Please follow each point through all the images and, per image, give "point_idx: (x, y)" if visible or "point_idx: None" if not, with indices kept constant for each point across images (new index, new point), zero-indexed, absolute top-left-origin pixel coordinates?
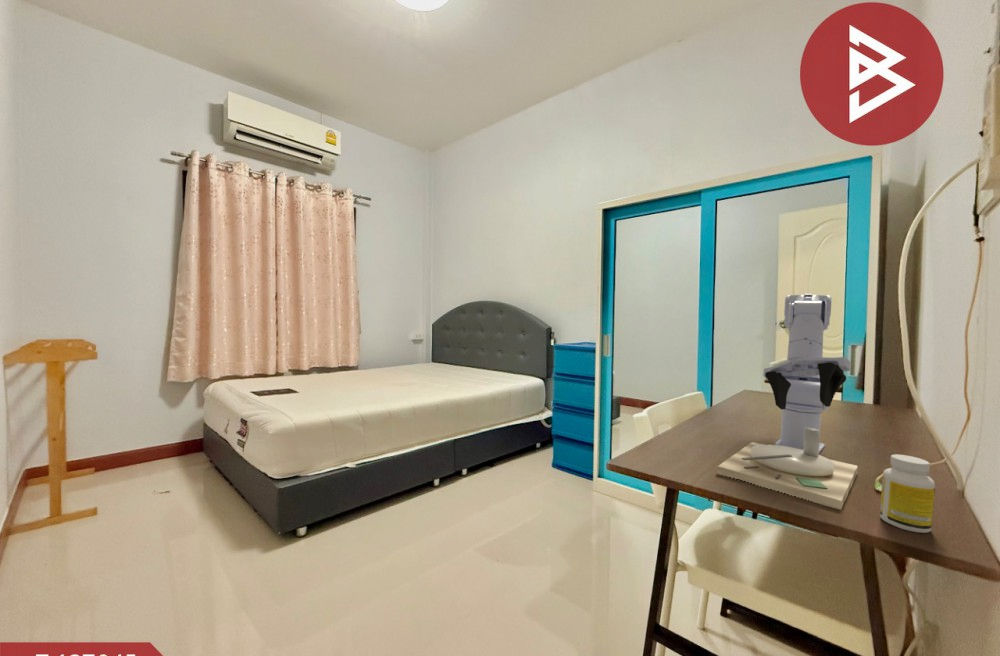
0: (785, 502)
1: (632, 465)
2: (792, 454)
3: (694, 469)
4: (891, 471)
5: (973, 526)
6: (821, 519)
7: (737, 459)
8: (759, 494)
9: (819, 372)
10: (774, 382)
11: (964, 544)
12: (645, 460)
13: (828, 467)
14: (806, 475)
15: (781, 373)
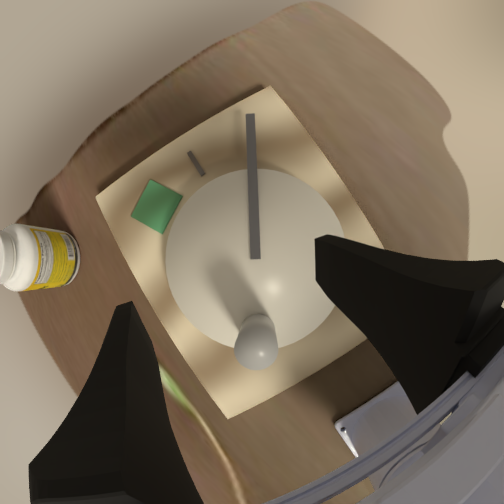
0: (144, 130)
1: (319, 5)
2: (265, 277)
3: (297, 71)
4: (15, 233)
5: (52, 353)
6: (95, 143)
7: (303, 153)
8: (177, 108)
9: (122, 425)
10: (422, 271)
11: None
12: (342, 28)
13: (173, 285)
14: None
15: (477, 378)
